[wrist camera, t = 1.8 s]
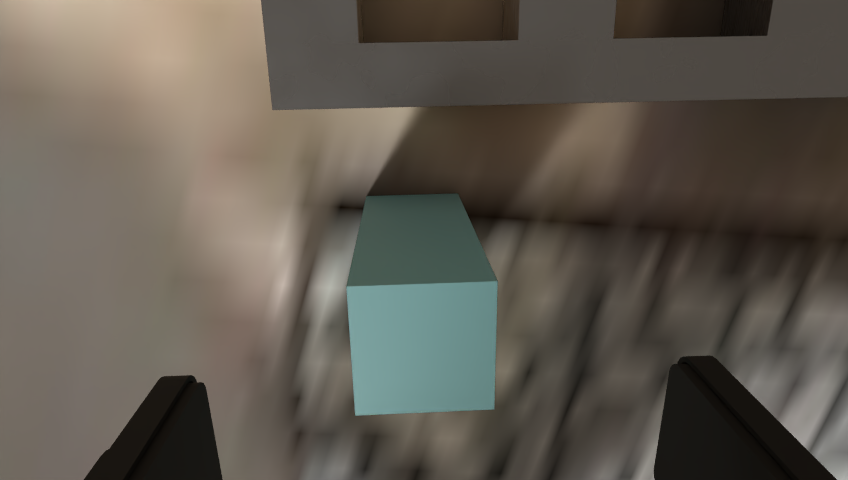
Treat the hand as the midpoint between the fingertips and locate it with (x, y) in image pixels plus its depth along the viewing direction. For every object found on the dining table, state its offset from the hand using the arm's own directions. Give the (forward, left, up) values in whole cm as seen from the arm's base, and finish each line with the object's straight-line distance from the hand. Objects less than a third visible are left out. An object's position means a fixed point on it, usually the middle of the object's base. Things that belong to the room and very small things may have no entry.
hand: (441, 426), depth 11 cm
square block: (-1, 0, -14) cm, 14 cm away
